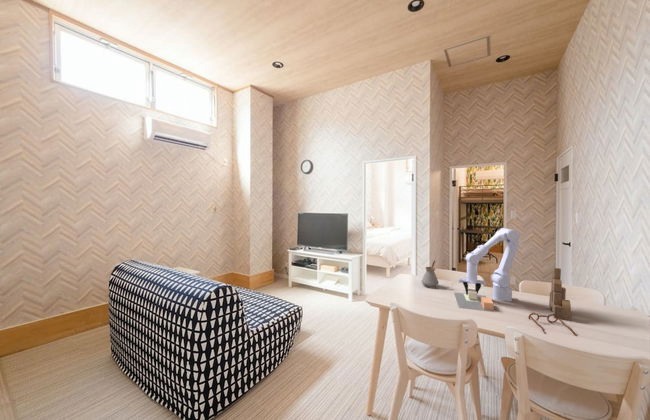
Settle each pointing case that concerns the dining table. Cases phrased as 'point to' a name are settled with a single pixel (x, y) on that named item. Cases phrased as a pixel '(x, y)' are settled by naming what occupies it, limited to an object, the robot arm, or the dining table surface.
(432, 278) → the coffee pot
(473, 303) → the baseplate
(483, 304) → the terracotta brick
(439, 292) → the dining table surface
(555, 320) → the glasses
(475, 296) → the cream brick
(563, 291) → the wooden toy
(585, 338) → the dining table surface
